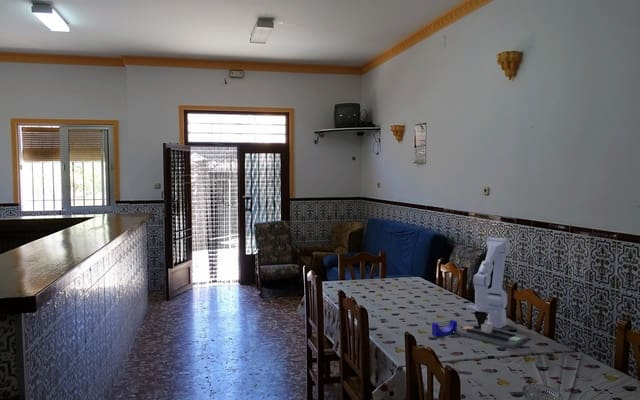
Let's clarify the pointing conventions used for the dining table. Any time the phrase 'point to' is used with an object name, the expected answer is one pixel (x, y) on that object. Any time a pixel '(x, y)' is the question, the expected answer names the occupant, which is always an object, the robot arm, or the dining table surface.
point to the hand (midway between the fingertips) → (481, 327)
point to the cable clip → (446, 330)
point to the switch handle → (486, 327)
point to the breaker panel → (492, 335)
